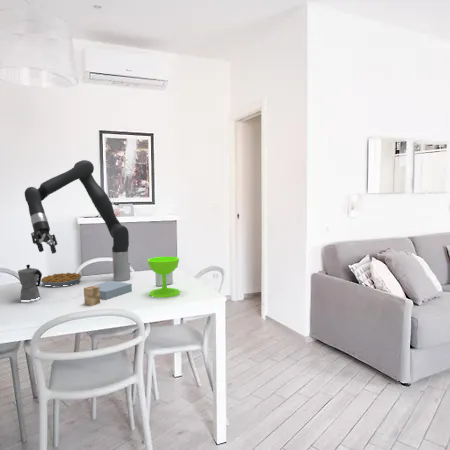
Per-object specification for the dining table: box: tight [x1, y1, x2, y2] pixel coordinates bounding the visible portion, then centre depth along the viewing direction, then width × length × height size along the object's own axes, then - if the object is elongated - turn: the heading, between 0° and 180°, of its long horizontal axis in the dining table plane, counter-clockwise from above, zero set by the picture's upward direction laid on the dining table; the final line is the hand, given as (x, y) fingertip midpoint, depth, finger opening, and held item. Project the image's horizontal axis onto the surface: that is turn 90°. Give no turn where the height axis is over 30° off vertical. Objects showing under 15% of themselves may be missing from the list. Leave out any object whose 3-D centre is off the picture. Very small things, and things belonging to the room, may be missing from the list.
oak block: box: [83, 285, 101, 307], centre depth 187 cm, size 5×5×8 cm
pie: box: [40, 272, 82, 286], centre depth 231 cm, size 22×22×5 cm
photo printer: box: [154, 272, 174, 287], centre depth 222 cm, size 10×4×12 cm, turn 134°
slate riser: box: [93, 280, 133, 300], centre depth 206 cm, size 18×16×4 cm
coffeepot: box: [17, 264, 43, 300], centre depth 195 cm, size 15×9×18 cm, turn 66°
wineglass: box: [147, 256, 181, 298], centre depth 203 cm, size 16×16×18 cm
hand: (48, 252), depth 197 cm, fingers open, 8 cm apart
